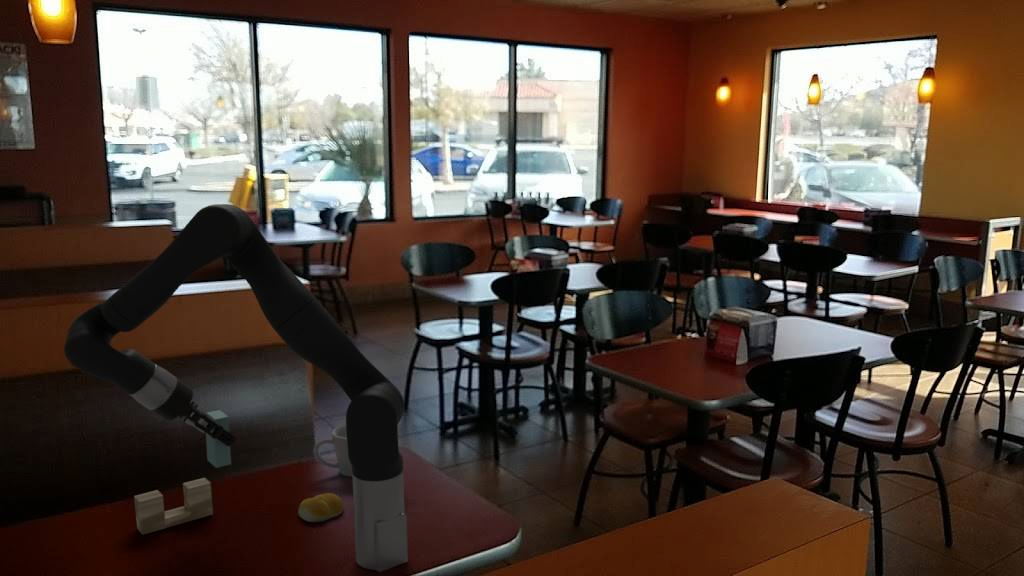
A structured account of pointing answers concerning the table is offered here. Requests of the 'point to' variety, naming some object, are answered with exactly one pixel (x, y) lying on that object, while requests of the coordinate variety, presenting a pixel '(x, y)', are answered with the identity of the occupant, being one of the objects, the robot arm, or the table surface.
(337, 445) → the mug
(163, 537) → the table surface
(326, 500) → the bread roll
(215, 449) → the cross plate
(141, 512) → the slot plate
